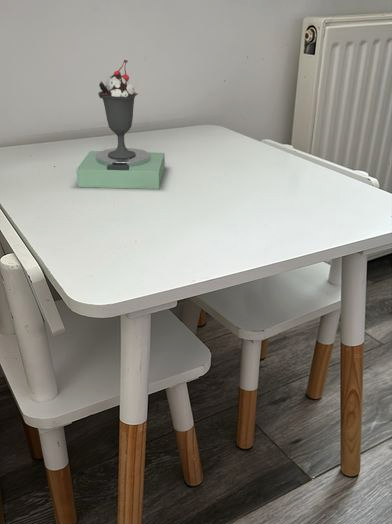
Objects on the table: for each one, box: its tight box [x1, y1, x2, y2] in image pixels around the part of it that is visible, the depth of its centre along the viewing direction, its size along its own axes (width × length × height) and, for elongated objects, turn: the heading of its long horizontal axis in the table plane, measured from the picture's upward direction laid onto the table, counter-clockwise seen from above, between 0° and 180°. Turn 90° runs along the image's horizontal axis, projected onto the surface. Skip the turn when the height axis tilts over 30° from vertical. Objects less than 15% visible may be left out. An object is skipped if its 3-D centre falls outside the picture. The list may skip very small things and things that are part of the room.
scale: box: [76, 150, 166, 190], centre depth 100 cm, size 14×12×4 cm
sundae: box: [98, 59, 139, 159], centre depth 95 cm, size 7×7×15 cm
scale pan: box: [96, 147, 150, 167], centre depth 100 cm, size 10×10×1 cm
